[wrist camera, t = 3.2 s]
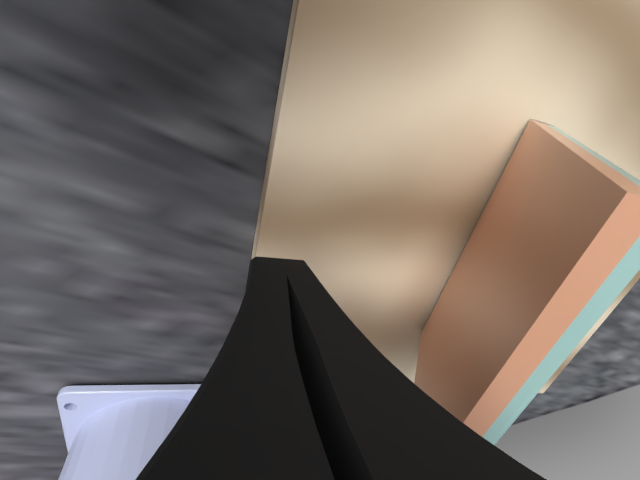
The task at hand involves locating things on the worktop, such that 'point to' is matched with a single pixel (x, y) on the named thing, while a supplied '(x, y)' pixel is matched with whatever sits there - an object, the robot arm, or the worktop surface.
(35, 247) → the worktop surface
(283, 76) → the board
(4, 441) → the worktop surface
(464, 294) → the tile
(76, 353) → the worktop surface
